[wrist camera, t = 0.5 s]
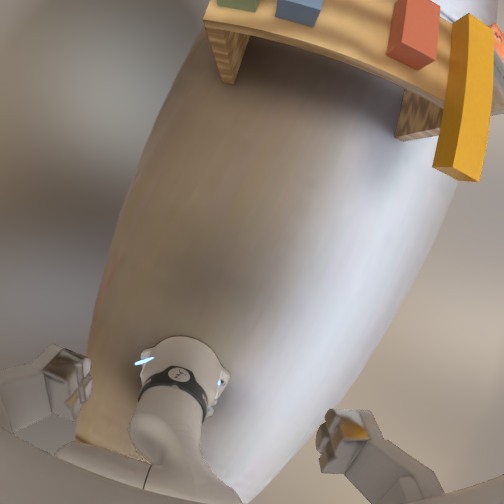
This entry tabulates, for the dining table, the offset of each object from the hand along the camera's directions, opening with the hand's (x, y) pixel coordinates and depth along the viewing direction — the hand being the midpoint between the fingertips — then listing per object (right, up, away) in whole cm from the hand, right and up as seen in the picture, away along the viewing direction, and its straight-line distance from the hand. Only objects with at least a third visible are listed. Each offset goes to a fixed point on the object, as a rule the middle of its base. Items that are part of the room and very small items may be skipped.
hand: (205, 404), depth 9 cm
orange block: (+25, +23, +17) cm, 38 cm away
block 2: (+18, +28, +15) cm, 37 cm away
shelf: (+14, +35, +39) cm, 54 cm away
